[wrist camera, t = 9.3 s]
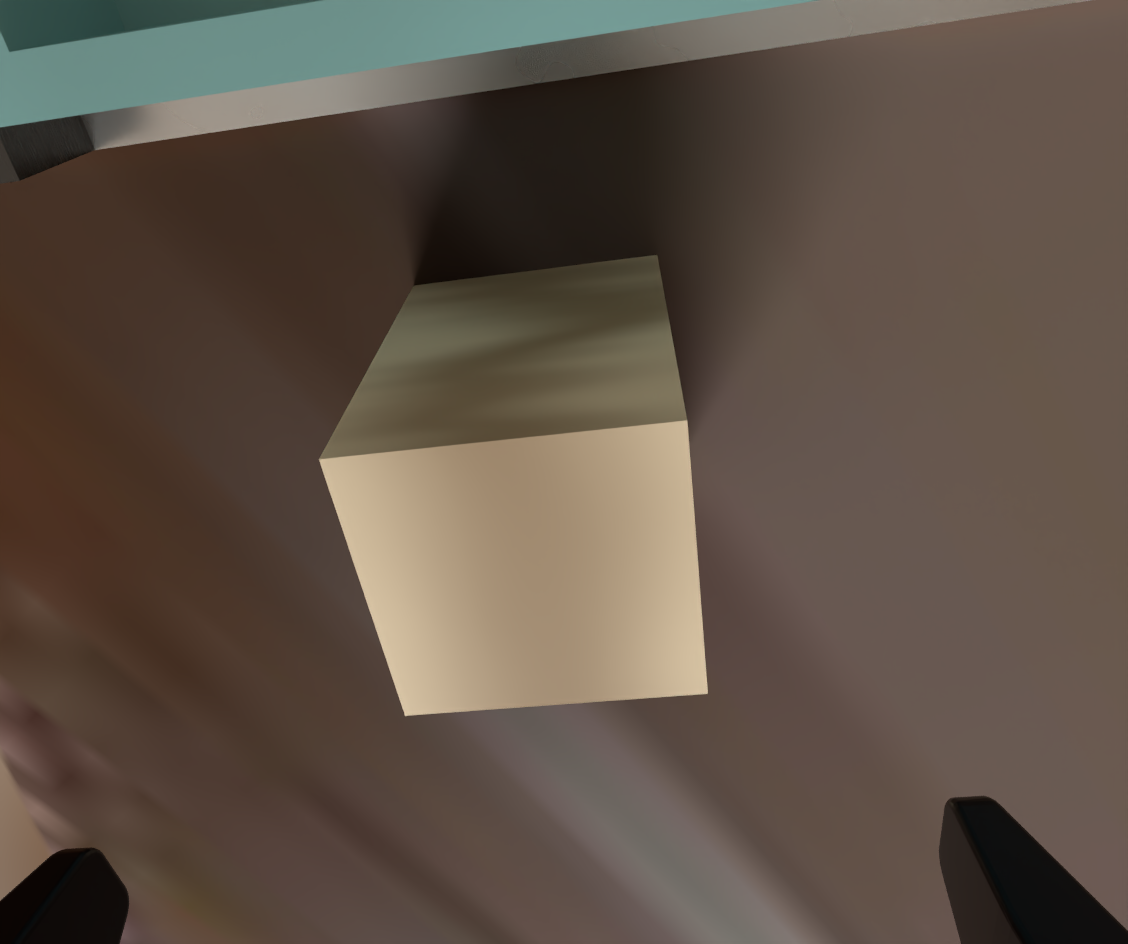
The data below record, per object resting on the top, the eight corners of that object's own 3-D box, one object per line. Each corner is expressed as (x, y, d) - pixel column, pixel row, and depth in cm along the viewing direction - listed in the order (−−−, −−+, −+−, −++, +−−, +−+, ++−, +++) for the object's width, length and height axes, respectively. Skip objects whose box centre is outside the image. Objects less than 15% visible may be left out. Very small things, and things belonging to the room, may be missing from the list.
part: (657, 254, 17) (687, 419, 11) (675, 466, 20) (707, 693, 14) (413, 284, 18) (319, 459, 12) (463, 488, 20) (405, 715, 14)
